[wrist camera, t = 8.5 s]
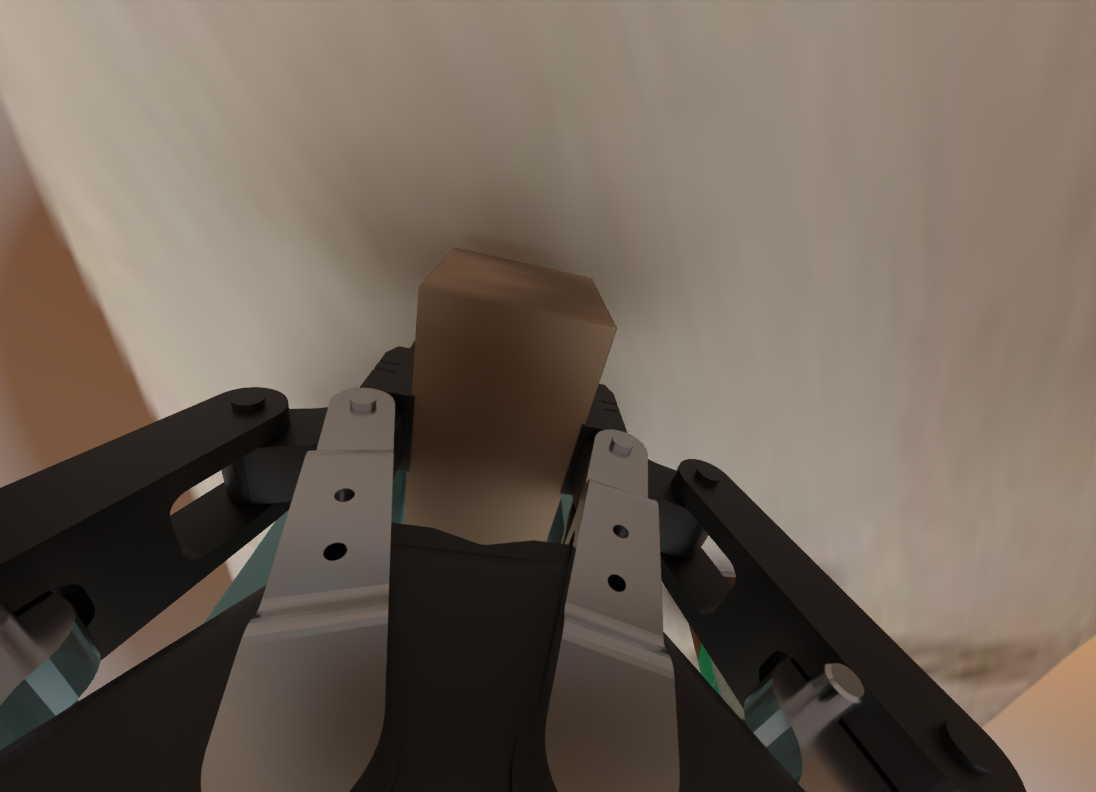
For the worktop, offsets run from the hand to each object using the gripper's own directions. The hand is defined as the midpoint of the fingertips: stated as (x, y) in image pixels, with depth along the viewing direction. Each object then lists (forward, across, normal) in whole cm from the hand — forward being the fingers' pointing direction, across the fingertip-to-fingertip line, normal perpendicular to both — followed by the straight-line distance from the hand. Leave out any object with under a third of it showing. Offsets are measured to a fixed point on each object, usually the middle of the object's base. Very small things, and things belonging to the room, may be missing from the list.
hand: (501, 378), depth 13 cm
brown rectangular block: (0, 0, +6) cm, 6 cm away
